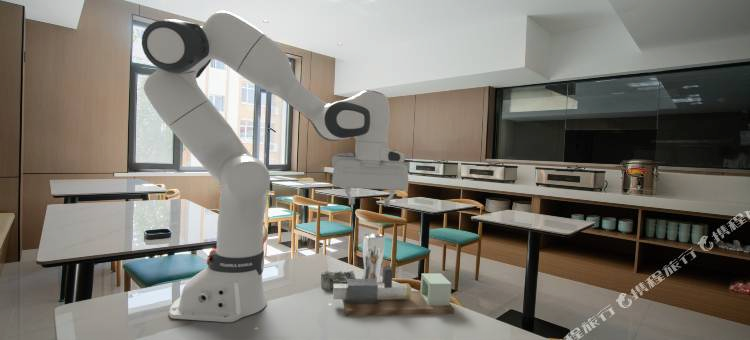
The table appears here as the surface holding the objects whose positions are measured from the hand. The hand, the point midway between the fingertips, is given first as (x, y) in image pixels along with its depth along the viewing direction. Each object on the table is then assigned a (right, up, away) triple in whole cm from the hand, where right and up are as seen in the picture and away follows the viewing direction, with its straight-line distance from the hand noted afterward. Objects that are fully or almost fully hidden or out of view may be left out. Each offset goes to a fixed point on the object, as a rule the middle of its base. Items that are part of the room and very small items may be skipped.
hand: (369, 205), depth 97 cm
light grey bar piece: (+1, -25, +2) cm, 25 cm away
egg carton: (-10, -27, +16) cm, 32 cm away
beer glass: (0, -27, +20) cm, 34 cm away
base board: (+7, -28, +3) cm, 29 cm away
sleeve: (-2, -26, +2) cm, 26 cm away
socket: (+18, -28, +5) cm, 34 cm away
